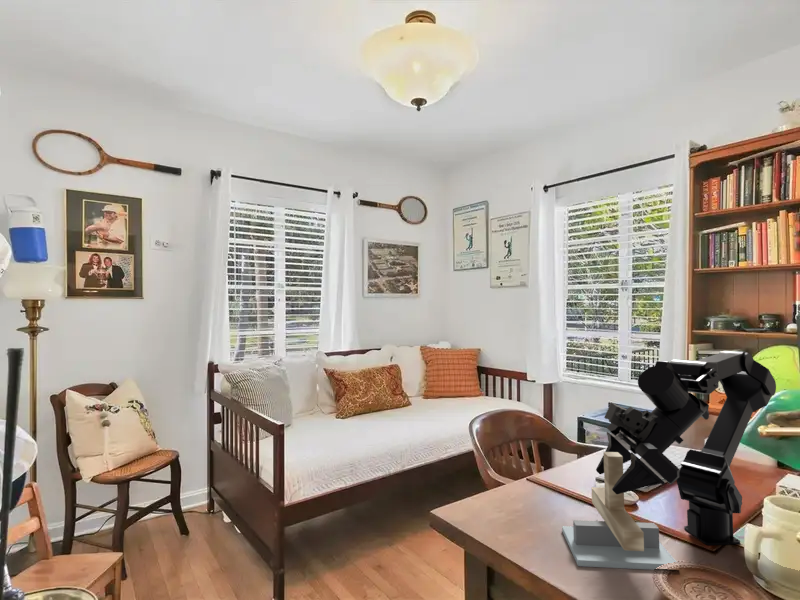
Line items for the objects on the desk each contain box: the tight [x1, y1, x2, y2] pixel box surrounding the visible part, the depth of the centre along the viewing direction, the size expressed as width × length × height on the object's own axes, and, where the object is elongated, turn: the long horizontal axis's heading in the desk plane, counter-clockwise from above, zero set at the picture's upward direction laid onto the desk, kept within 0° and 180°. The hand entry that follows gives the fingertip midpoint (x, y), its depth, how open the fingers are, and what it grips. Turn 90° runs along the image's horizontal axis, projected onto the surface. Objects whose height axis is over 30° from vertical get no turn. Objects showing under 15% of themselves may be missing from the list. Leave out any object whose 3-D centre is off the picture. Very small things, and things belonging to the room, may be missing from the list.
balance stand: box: [561, 519, 677, 571], centre depth 82 cm, size 16×12×4 cm
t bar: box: [591, 451, 644, 551], centre depth 82 cm, size 3×18×12 cm, turn 173°
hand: (605, 481), depth 82 cm, fingers open, 9 cm apart
